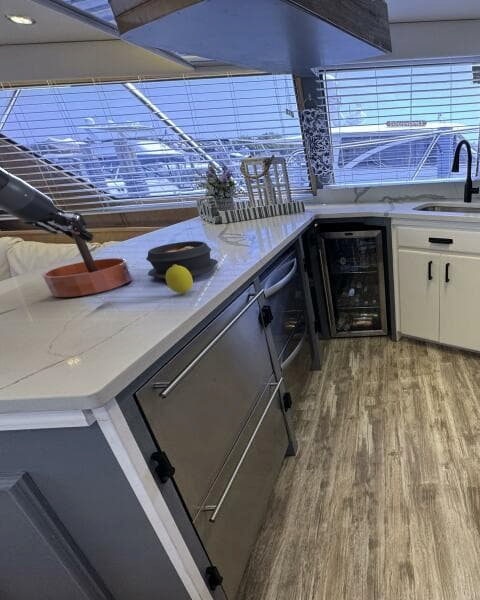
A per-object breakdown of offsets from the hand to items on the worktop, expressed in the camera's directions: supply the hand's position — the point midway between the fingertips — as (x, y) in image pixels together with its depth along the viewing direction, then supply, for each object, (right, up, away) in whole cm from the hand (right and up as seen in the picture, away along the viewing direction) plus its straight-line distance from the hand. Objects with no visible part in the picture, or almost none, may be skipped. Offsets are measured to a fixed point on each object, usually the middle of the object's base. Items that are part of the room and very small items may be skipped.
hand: (86, 238), depth 88 cm
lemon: (+30, -16, -5) cm, 34 cm away
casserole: (+19, -9, +12) cm, 24 cm away
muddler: (0, -12, +3) cm, 12 cm away
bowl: (0, -13, +3) cm, 14 cm away
